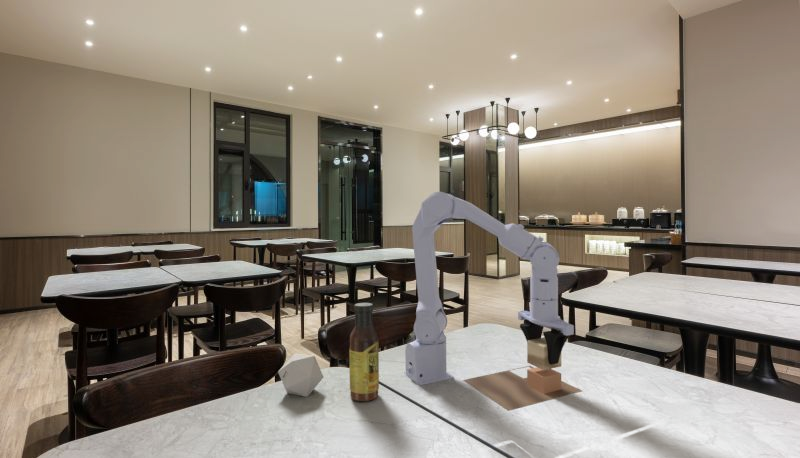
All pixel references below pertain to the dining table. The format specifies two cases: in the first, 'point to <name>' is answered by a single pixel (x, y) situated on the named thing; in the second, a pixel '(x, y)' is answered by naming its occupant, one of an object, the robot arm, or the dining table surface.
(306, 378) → the die
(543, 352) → the maple block
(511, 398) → the build board
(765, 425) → the dining table surface
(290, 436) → the dining table surface
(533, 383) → the terracotta base block
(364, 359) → the sauce bottle
